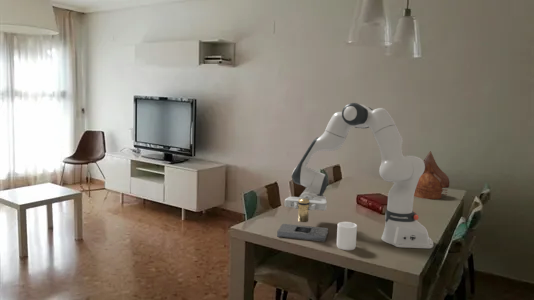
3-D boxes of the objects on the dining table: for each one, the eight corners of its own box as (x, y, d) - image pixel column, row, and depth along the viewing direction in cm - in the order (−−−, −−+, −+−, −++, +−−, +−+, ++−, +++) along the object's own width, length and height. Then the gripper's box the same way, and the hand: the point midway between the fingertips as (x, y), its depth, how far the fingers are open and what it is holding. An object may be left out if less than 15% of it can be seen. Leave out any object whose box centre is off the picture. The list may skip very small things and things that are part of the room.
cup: (334, 248, 188) (335, 225, 187) (340, 240, 199) (341, 218, 198) (353, 251, 185) (354, 228, 184) (359, 242, 196) (360, 221, 195)
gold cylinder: (309, 219, 206) (310, 198, 205) (307, 222, 201) (308, 201, 200) (298, 218, 208) (299, 197, 206) (296, 221, 202) (297, 200, 201)
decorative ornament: (404, 196, 286) (408, 150, 281) (409, 190, 302) (412, 147, 298) (447, 201, 274) (451, 154, 270) (449, 195, 291) (452, 150, 287)
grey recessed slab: (327, 233, 208) (327, 228, 208) (324, 241, 197) (325, 236, 196) (282, 228, 213) (282, 223, 213) (277, 236, 202) (277, 231, 202)
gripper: (287, 192, 218) (281, 199, 205) (328, 196, 213) (325, 203, 200) (287, 204, 219) (281, 212, 205) (327, 208, 214) (324, 216, 201)
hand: (303, 207), depth 203 cm, fingers closed on gold cylinder, 5 cm apart
